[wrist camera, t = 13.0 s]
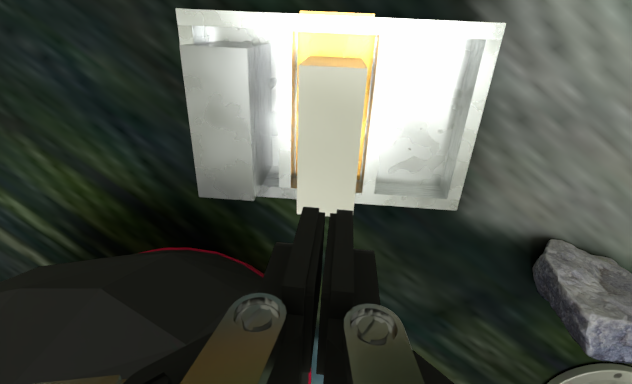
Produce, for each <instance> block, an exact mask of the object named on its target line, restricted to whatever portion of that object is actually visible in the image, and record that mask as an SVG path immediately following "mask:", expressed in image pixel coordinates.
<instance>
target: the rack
mask: <svg viewBox="0 0 632 384" xmlns="http://www.w3.org/2000/svg"><path fill="white" fill-rule="evenodd" d="M176 16H177V24H178V31H179V39H180V45H179V46H180V54H181V62H182V70H183V77H184V85H185V93H186V100H187V108H188V116H189V124H190V131H191V139H192V147H193V155H194V162H195V170H196V178H197V186H198V193H199V197H206V198H220V199H234V200H248V201H254V200H255V198H256V196H259V197H274V198H288V199H297V158H298V81H299V65H300V64H301V63H302V62H303V61H304V60H305V59H307V58H308V57H309V56H322V57H344V58H362V60H363V61H364V63H365V65H366V66H367V68H368V71H367V81H366V91H365V101H364V111H363V121H362V131H361V141H360V151H359V161H358V171H357V181H356V191H355V201H354V203H358V204H372V205H386V206H400V207H414V208H428V209H442V210H456V211H457V208H458V204H459V200H460V196H461V193H462V189H463V185H464V181H465V177H466V174H467V170H468V166H469V162H470V158H471V155H472V151H473V147H474V143H475V139H476V136H477V132H478V128H479V124H480V121H481V117H482V113H483V109H484V105H485V102H486V98H487V94H488V90H489V86H490V83H491V79H492V75H493V71H494V67H495V64H496V60H497V56H498V52H499V48H500V45H501V41H502V37H503V33H504V30H505V26H506V23H490V22H468V21H446V20H423V19H401V18H379V17H375V14H363V13H341V12H318V11H300V14H289V13H267V12H244V11H222V10H200V9H177V8H176Z"/></svg>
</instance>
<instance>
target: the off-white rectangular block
mask: <svg viewBox="0 0 632 384" xmlns="http://www.w3.org/2000/svg"><path fill="white" fill-rule="evenodd" d="M367 71H368V68H367V66H366V65H365V63H364V61H363V60H362V58H344V57H322V56H309V57H308V58H307V59H305V60H304V61H303V62H302V63H301V64H300V65H299V81H298V158H297V214H301V213H302V209H303V207H314V208H319V212H324V213H325V216H330V213H336V214H337V209H339V210H351V211H354V201H355V191H356V181H357V171H358V161H359V151H360V141H361V131H362V121H363V111H364V101H365V91H366V81H367Z"/></svg>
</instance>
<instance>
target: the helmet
mask: <svg viewBox="0 0 632 384" xmlns="http://www.w3.org/2000/svg"><path fill="white" fill-rule="evenodd" d="M263 276H264V274H263V273H262V272H260V271H259V270H257V269H256V268H254V267H253V266H251V265H250V264H247V263H245V262H242V261H240V260H237V259H235V258H232V257H230V256H227V255H225V254H222V253H219V252H215V251H208V250H202V249H195V248H188V247H184V248H160V249H155V250H150V251H145V252H140V253H137V254H130V255H122V256H115V257H107V258H100V259H92V260H85V261H78V262H70V263H63V264H56V265H48V266H41V267H37V268H35V269H32V270H30V271H27V272H25V273H22V274H20V275H17V276H15V277H12V278H10V279H7V280H5V281H2V282H0V384H34V383H44V382H54V381H63V380H73V379H83V378H92V377H102V376H112V375H120V376H121V380H122V379H128V378H129V377H130V376H131V375H133V374H134V373H136V372H137V371H139V370H140V369H142V368H144V367H146V366H148V365H150V364H152V363H153V362H155V361H157V360H159V359H161V358H163V357H165V356H167V355H169V354H171V353H173V352H175V351H177V350H179V349H180V348H182V347H184V346H186V345H188V344H190V343H192V342H194V341H196V340H198V339H200V338H202V337H204V336H206V335H207V334H209V333H211V332H213V331H215V329H216V328H217V326H218V325H219V323H220V322H221V320H222V319H223V317H224V316H225V314H226V313H227V311H228V310H229V308H230V307H231V306H232V304H233V303H234V302H235V301H237V300H238V299H240V298H241V297H243V296H246V295H249V294H254V293H258V290H259V288H260V285H261V282H262V279H263ZM301 384H311V371H310V373H304V372H303V376H302V383H301Z"/></svg>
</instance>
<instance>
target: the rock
mask: <svg viewBox="0 0 632 384" xmlns="http://www.w3.org/2000/svg"><path fill="white" fill-rule="evenodd" d="M532 269H533V277H534V280H535V283H536V286H537V292H538V293H539V294H540V295H541V296H542V297H543V298H545V299H546V300H547V301H549V302H550V306H551V307H552V309H553V310H554V311H555V312H556V314H557V315H558V317H559V318H560V319H561V322H563V324H564V325H565V327H566V329H567V330H568V332H569V333H570V335H571V336H572V338H573V339H574V340H575V341H576V342H577V343H578V344H579V345H580V346H581V348H582V349H583V351H584V352H585V353H586V354H587V355H588V356H590V357H592V358H594V359H597V360H602V361H612V362H619V363H630V364H632V274H631V273H630V272H629V271H627V270H626V269H624V268H622V267H620V266H619V265H618V264H617V263H616V262H615V261H614V260H613V259H611V258H607V257H603V256H596V255H590V254H589V253H587V252H586V251H583V250H581V249H578V248H576V247H575V246H574V245H572V244H570V243H567V242H564V241H563V240H556V239H551V240H549V241H548V243H547V244H546V247H545V250H544V252H543V254H542V255H541V256H540V257H539V258H538V260H537V261H536V263H535V264H534V266H533V268H532Z"/></svg>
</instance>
